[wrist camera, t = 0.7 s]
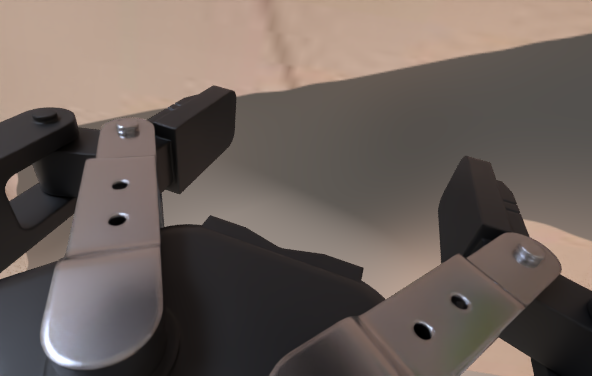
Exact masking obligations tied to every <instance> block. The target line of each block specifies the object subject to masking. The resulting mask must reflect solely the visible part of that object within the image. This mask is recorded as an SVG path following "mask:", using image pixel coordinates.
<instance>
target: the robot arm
mask: <svg viewBox="0 0 592 376" xmlns="http://www.w3.org/2000/svg"><path fill="white" fill-rule="evenodd" d="M235 113H236V94H235V92H234V91H232V90H229V89H225V88H222V87H218V86H212V87H210V88H208V89H207V90H205V91H203V92H202V93H200V94H198V95H194V96H190V97H186V98H183V99H182V100H180V101H178V102H176V103H175V104H173V105H171V106H170V107H168V109H164V110H163V111H161V112H159V113H158V114H156V115H154V116H152V117H151V118H149V119H147V120H145V119H141V118H134V117H124V118H117V119H113V120H110V121H108V122H106V123H105V124H103V125H102V127H101V130H96V129H87V128H78V126H77V122H76V118H75V115H74V113H73V112H71V111H69V110H66V109H62V108H38V109H33V110H29V111H26V112H24V113H21V114H19V115H17V116H14V117H12V118H10V119H7V120H5V121H3V122H0V273H1V272H2V271H3V270H5V269H6V268H7V267H8V266H10V265H11V264H12V263H13V262H15V261H16V260H17V259H18V258H20V257H21V256H22V255H23V254H24V253H26V252H27V251H28V250H29V249H31V248H32V247H33V246H34V245H36V244H37V243H38V242H39V241H41V240H42V239H43V238H44V237H46V236H47V235H48V234H49V233H51V232H52V231H53V230H54V229H56V228H57V227H58V226H59V225H61V224H62V223H63V222H64V221H65V220H67V219H68V218H69V217H70V216H72V215H73V214H74V217H73V222H72V227H71V232H70V236H69V241H68V246H67V250H66V254H65V256H64V257H63V258H61V259H60V260H59V261H56V262H53V263H50V264H47V265H43V266H41V267H37V268H34V269H31V270H28V271H25V272H21V273H18V274H15V275H12V276H9V277H6V278H3V279H0V376H460V375H461V374H462V373H463V372H464V371H465V370H466V369H467V368H468V367H469V366H470V365H471V364H472V363H473V362H474V361H475V360H476V359H477V358H478V357H479V356H480V355H481V354H482V353H483V352H484V351H485V350H486V349H487V348H488V347H489V346H490V345H491V344H492V343H493V342H494V341H495V340H496V339H497V338H498V337H499V338H501V339H502V340H504V341H505V342H507V343H509V344H510V345H512V346H513V347H515V348H517V349H518V350H520V351H521V352H523V353H525V354H526V355H528V356H529V357H531V362H532V367H533V372H534V376H592V291H591V290H589V289H587V288H585V287H583V286H581V285H579V284H577V283H575V282H573V281H571V280H569V279H567V278H566V277H564V276H562V275H560V273H561V270H562V268H561V264H560V262H559V260H558V259H557V257H556V256H555V255H554V254H553V253H552V252H551V251H550V250H549V249H548V248H547V247H545V246H544V245H543V244H541V243H540V242H538V241H536V240H534V239H532V238H530V237H529V234H528V232H527V229H526V227H525V224H524V221H523V219H522V217H521V214H519V213H520V211H519V209H518V206H517V205H516V204H517V203H516V201H515V198H514V195H513V193H512V192H511V191H510V190H509V188H508V187H507V186H506V185H505V184H504V183H503V182H501V181H498V180H496V178H495V175H494V172H493V169H492V166H491V163H490V162H487V161H483V160H479V159H475V158H472V157H469V156H465V157H463V158H462V160H461V161H460V163H459V165H458V166H457V168H456V170H455V172H454V174H453V176H452V178H451V180H450V182H449V184H448V185H447V187H446V189H445V191H444V193H443V195H442V197H441V200H440V204H439V208H438V217H439V232H440V249H441V264H440V265H439V266H437V267H436V268H434V269H433V270H431V271H430V272H428V273H426V274H425V275H423V276H422V277H420V278H419V279H417V280H415V281H414V282H412V283H411V284H409V285H408V286H406V287H405V288H403V289H402V290H400V291H398V292H397V293H395V294H394V295H392V296H391V297H389V298H387V299H385V298H384V297H383V296H381V295H380V294H379V293H378V292H377V291H376V290H374V289H373V288H372V287H370V286H369V285H368V284H366V283H365V282H363V281H361V279H362V273H363V267H359V266H356V265H354V264H351V263H348V262H345V261H342V260H339V259H336V258H333V257H330V256H327V255H325V254H318V253H311V252H304V251H297V250H290V249H284V248H280V247H278V246H276V245H274V244H273V243H271V242H269V241H268V240H266V239H264V238H263V237H261V236H259V235H257V234H256V233H254V232H252V231H251V230H249V229H247V228H246V227H243V226H240V225H237V224H234V223H231V222H228V221H225V220H223V219H219V218H217V217H213V216H211V215H210V216H209V217H208V219H207V220H206V221H205V222H204V223H203V225H192V224H188V225H187V224H185V225H175V226H167V227H164V219H163V204H162V194H161V193H162V192H163V191H164V190H169V191H171V192H174V193H177V194H181V193H182V191H184V190H185V189H186V188H187V187H188V186H189V185H190V184H191V183H192V182H193V181H194V180H195V179H196V178H197V177H198V176H199V175H200V174H201V173H202V172H203V171H204V170H205V169H206V168H207V167H208V166H209V165H211V164H212V163H213V162H214V161H215V159H217V158H218V157H219V156H220V155H221V154H222V153H223V152H224V151H225V150H226V149H227V148H228V147H229V146H230V144H231V142H232V140H233V137H234V131H235ZM30 165H33V168H34V170H35V173H36V175H37V178H38V181H39V183H37V184H36V185H34V186H33V187H31V188H30V189H28V190H27V191H25V192H23V193H22V194H20V195H19V196H17V197H15V198H14V199H12V200H11V201H9V200H8V198H7V196H6V193H5V186H6V183H7V181H8V180H9V179H10V177H12V176H13V175H14V174H16V173H18V172H19V171H21V170H23V169H25V168H26V167H28V166H30Z"/></svg>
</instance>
